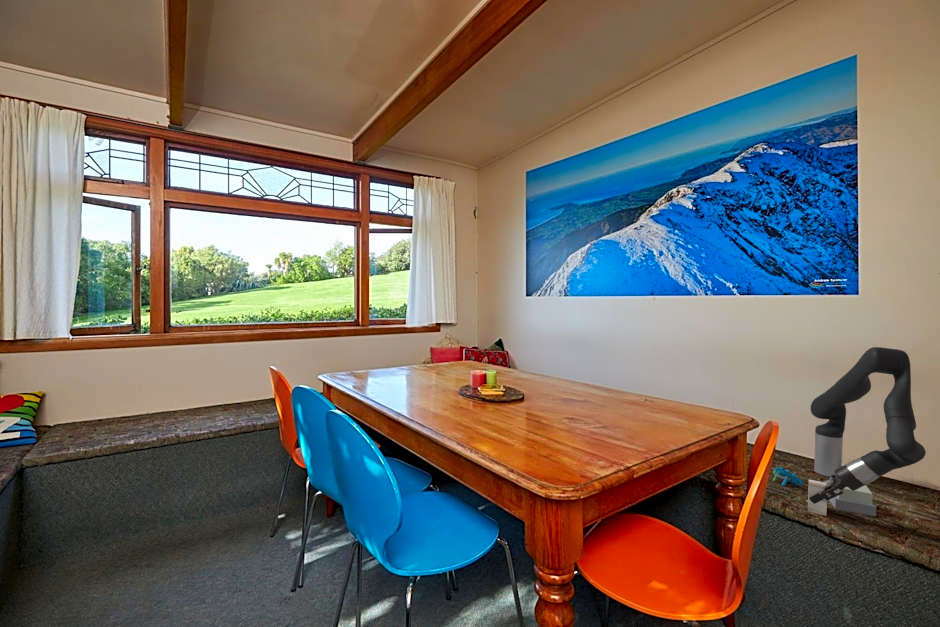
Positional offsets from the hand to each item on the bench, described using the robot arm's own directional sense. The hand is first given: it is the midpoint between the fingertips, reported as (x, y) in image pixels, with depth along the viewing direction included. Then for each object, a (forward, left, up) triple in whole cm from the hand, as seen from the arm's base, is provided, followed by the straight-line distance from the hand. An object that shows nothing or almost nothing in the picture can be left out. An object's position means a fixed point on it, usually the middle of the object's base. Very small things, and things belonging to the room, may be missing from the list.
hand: (811, 497), depth 151 cm
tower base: (-7, +15, -5) cm, 18 cm away
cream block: (+1, +2, -4) cm, 5 cm away
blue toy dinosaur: (-22, +1, -5) cm, 23 cm away
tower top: (-8, +16, -1) cm, 17 cm away
